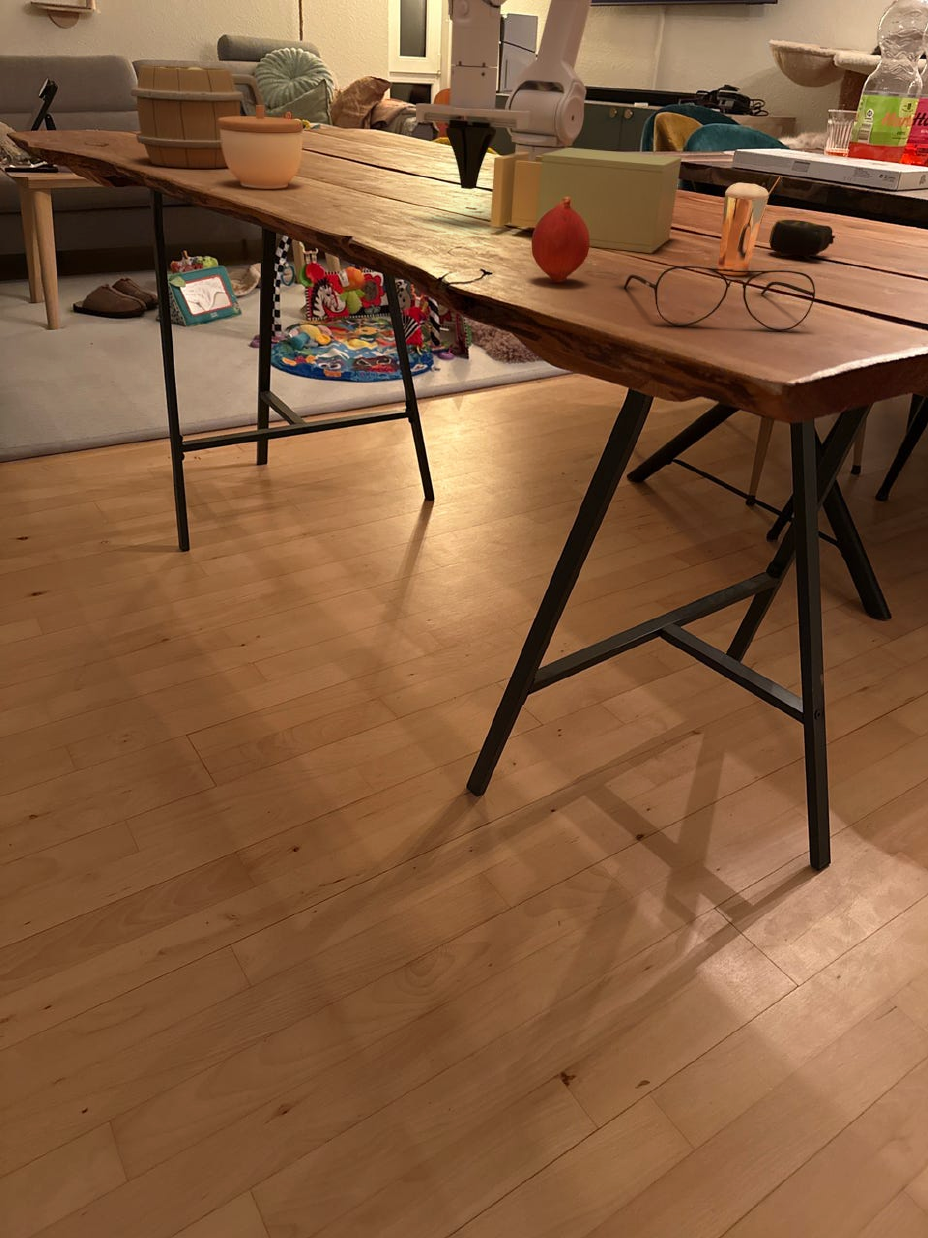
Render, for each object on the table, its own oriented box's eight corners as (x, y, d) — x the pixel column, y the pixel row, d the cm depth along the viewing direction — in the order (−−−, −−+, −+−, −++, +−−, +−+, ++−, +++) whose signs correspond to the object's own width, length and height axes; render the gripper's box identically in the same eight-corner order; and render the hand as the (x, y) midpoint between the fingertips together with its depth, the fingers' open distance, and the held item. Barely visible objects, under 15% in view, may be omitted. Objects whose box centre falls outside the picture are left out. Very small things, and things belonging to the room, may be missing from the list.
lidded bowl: (321, 186, 148) (319, 107, 142) (266, 193, 138) (261, 109, 133) (262, 178, 153) (257, 101, 147) (205, 184, 144) (198, 102, 138)
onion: (519, 282, 94) (525, 196, 90) (542, 273, 98) (549, 190, 94) (572, 290, 92) (581, 202, 88) (593, 281, 96) (603, 196, 92)
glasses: (649, 325, 81) (656, 264, 79) (621, 305, 95) (627, 253, 93) (810, 332, 82) (822, 272, 80) (760, 312, 95) (769, 260, 93)
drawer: (481, 225, 118) (484, 156, 114) (507, 214, 126) (512, 150, 122) (594, 237, 113) (602, 167, 109) (613, 226, 122) (622, 160, 118)
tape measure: (815, 264, 111) (823, 230, 109) (759, 255, 114) (765, 222, 112) (830, 256, 116) (838, 224, 114) (776, 248, 119) (782, 216, 117)
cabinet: (535, 239, 116) (542, 153, 111) (560, 227, 125) (568, 147, 120) (651, 253, 111) (664, 164, 106) (669, 239, 121) (681, 157, 116)
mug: (296, 166, 169) (292, 70, 161) (170, 171, 155) (159, 66, 147) (242, 155, 181) (236, 65, 173) (120, 159, 166) (107, 61, 158)
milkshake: (753, 280, 101) (773, 178, 95) (705, 272, 103) (723, 172, 98) (765, 273, 104) (785, 175, 99) (719, 266, 106) (736, 169, 101)
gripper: (406, 62, 113) (405, 185, 120) (520, 69, 109) (511, 196, 116) (429, 63, 119) (426, 180, 126) (538, 69, 114) (528, 190, 121)
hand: (468, 187), depth 121 cm, fingers closed
